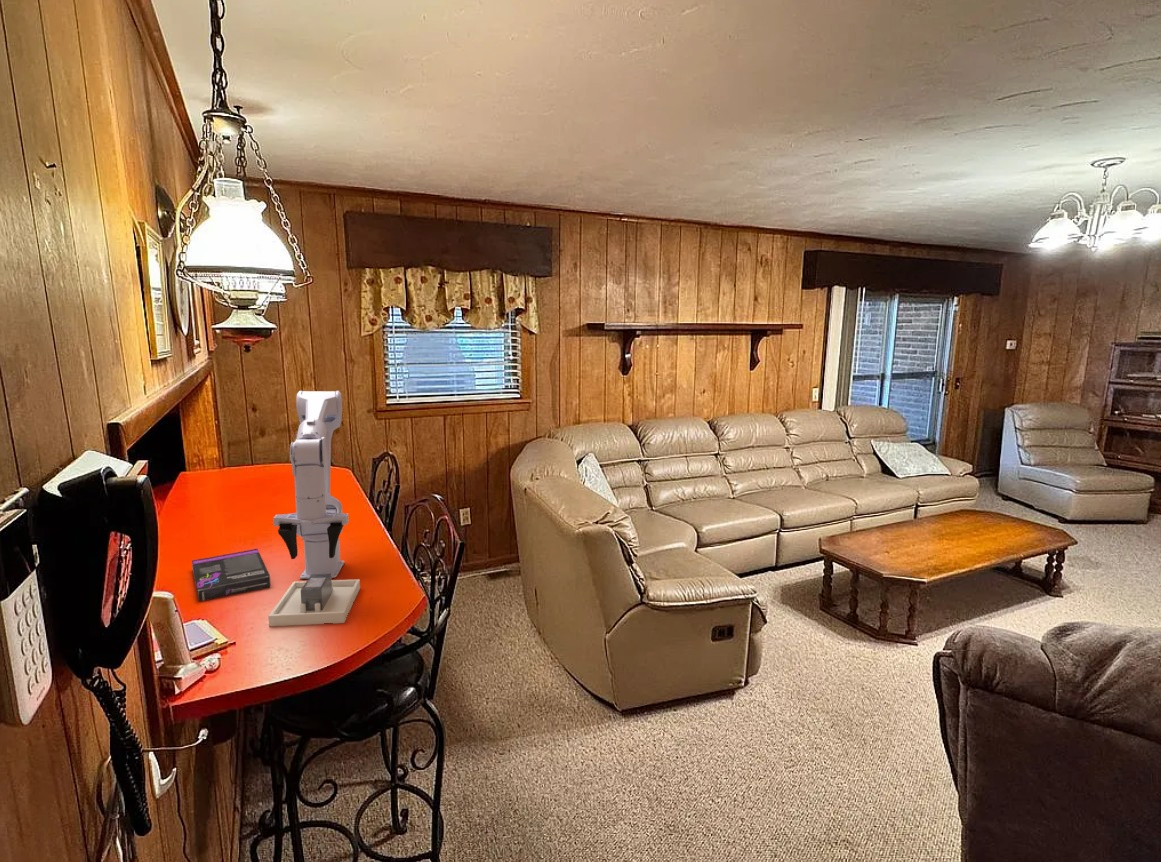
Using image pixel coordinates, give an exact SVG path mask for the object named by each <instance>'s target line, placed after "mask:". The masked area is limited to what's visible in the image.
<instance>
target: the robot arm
mask: <svg viewBox="0 0 1161 862" xmlns="http://www.w3.org/2000/svg"><path fill="white" fill-rule="evenodd" d="M295 401H296V403H295V405H296V412H297V417H298V420H299V426H298V428H297V429H298V430H297V433H296V438H295V441H291V443H290V447H289V460H290V464H291V469H292V476H293V477H294V487H295V488H294V491H295V494H294V496H295V512H293V513H287V514H286V513H284V514H275V516H273V517H272V518H273V519H272V521H273V527H279V528H278V529H277V532H278V535H279V536H280V537H281V539H282V540H283V542H284V543H285V545H286V547H287V549H288V552H289V555H290V559H291V560H295V559H296V557H298V543H297V542H298V541H297V536H298V537H299V538H302V541H303V545H304V546H303V547H304V549H303V550H304V551H303V552H304V571H302V573H301V574H300V576H299V579H300V580H308V579H309V577H310V576H311V574H331V579H333V578H335V579H336V577H337V576H338V575H339V573H340V571H341V570H342V567H343V566H344V564H345V560H341V549H340V548H341V546H340V545H341V544H340V543H341V542H340V535H341V533H342V532H343V529H344V526H347V525H348V524H349V522H350V521H349V519H350V518H349V513H344V512H343V504H342V503H341V500H339V499H338V498H336V497H335V496H333V495H331V471H332V469H331V466H332V465H331V462H332V460H331V459H332V458H331V455H332V437H333V433H334V431H335V430H336V429H338V428H341V425H342V424H341V423H342V421H343V419H342V418H343V417H342V416H343V415H342V414H343V397H342V393H341V392H340V390H336V391H335V390H333V391H332V390H330V391H328V390H326V391H325V390H322V391H321V390H320V391H319V390H318V391H314V390H313V391H311V390H310V391H309V390H305V391H303V390H299V391H298V392H297V393H296V400H295Z"/></svg>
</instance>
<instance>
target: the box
mask: <svg viewBox="0 0 1161 862" xmlns="http://www.w3.org/2000/svg"><path fill="white" fill-rule="evenodd" d="M191 567H192V573H193V579H194V583H195V589H196V594H197V599H198V602H203V601H204V602H205V601H208V600H213V599H219V598H223V597H228V596H229V597H230V596H232V595H238V594H243V593H247V592H253V591H258V590H262V588H264V589H267V588H268V587H269V588H271V575H270V573H269V571H268V568H267V567H266V564H265V562H264V559H263V558H262V556H261V554H260V551H259V549H258V548H254V549H248V550H243V551H237V552H232V553H226V554H222V555H215V556H210V557H204V558H199V559H193V560H191Z"/></svg>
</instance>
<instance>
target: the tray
mask: <svg viewBox="0 0 1161 862" xmlns="http://www.w3.org/2000/svg"><path fill="white" fill-rule="evenodd" d="M306 582H307V580H305V581H303V580H299V581H293V582H292V583H291V584H290V586H289V587H288V588H287V590H286V591H285V593H284V594H283V596H282V597H280V600H279V601H278V602H277V603H276V605H275V606H274V607H273V609H272V610H271V612H270V613H269V615H268V627H281V626H282V627H284V626H285V627H286V626H305V625H306V626H308V625H325V624H324V623H333V624H345V622H346V620H347V618H348V616H349V614H350V611H351V609H352V607H353V605H354V603H355V601H356V598H357V596H358V595H359V592H360V589H361V583H360V582H361V581H360V579H359V578H358V579H333V580H332V579H331V582H332V594H331V596H330V598H329V599H328V601H327V603H326V605H325V607H324V608H323V610H320V603H316V604H315V611H306V605H305V603H303V604H301V589H302V587H303V586H304V585H305V583H306ZM353 602H354V603H353ZM348 613H349V614H348ZM347 615H348V616H347ZM346 617H347V618H346Z"/></svg>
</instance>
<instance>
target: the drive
mask: <svg viewBox="0 0 1161 862" xmlns="http://www.w3.org/2000/svg"><path fill="white" fill-rule="evenodd" d="M331 580H332V578H331V574H311V576H310V577H309V579H306V581H307V582H306V583H305V585H304V586H303V587H302V589H301V604H303V603H305V605H306V611H315V604H316V603H320V610H323V608H324V607H325V605H326V603H327V601H328V599H329V598H330V596H331V594H332V582H331Z"/></svg>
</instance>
